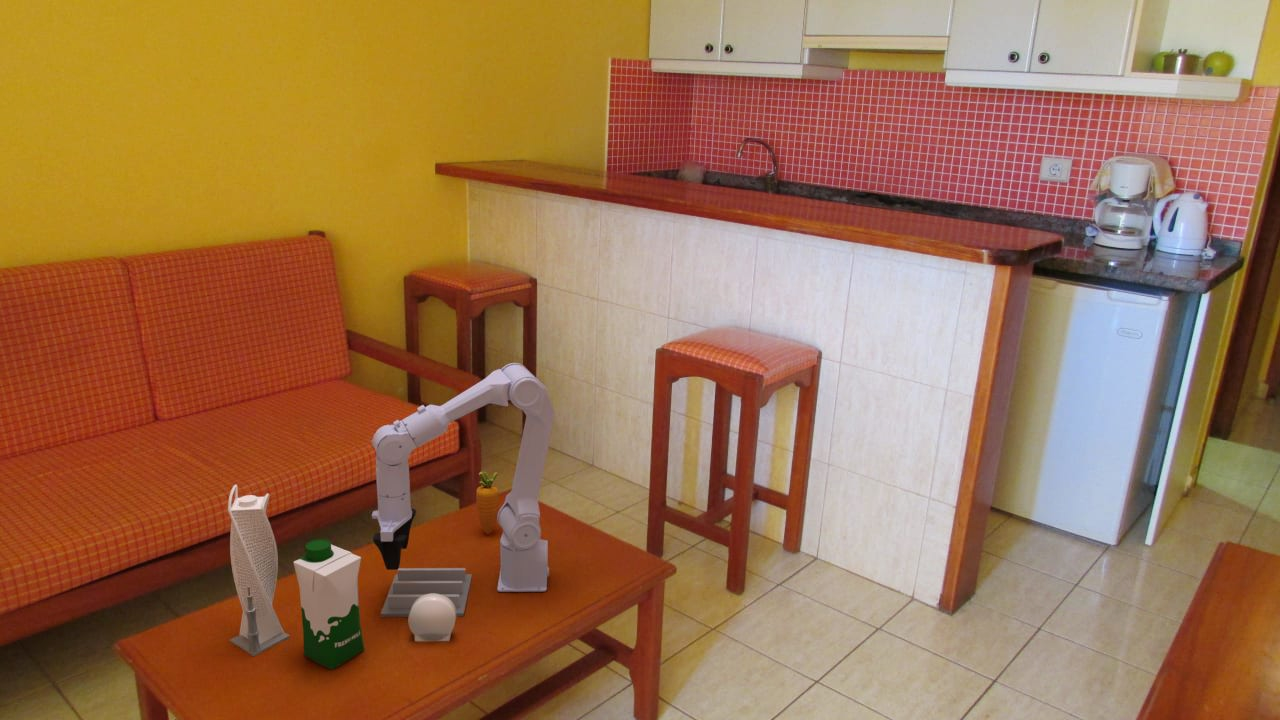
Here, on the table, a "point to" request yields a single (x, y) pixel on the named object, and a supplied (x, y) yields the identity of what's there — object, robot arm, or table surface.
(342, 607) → the milk carton
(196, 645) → the table surface
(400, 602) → the dish rack
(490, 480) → the carrot
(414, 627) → the cream round puck
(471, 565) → the table surface
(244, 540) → the skyscraper
